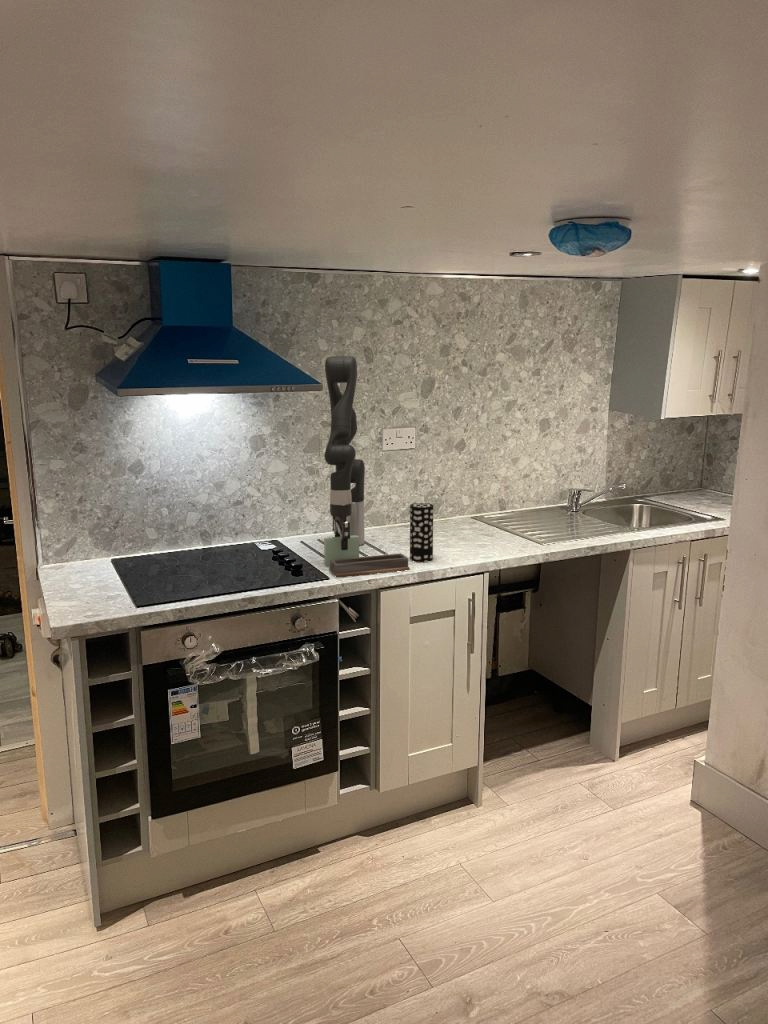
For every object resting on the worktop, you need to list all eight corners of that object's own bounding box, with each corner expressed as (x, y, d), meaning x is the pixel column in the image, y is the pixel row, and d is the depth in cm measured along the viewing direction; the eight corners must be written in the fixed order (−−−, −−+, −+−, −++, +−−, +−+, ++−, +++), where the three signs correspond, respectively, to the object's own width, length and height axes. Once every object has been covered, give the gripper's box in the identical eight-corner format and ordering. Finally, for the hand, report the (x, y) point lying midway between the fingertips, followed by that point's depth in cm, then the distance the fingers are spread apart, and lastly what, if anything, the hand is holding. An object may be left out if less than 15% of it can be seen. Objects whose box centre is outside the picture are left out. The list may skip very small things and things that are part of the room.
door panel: (324, 565, 275) (324, 538, 273) (357, 562, 279) (356, 535, 277) (326, 567, 273) (325, 539, 271) (359, 564, 277) (358, 536, 275)
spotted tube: (406, 557, 285) (406, 504, 280) (427, 555, 288) (427, 502, 283) (415, 563, 277) (415, 508, 273) (436, 561, 280) (437, 506, 276)
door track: (329, 569, 269) (328, 558, 269) (399, 563, 278) (399, 552, 277) (336, 578, 260) (336, 566, 259) (409, 570, 268) (409, 559, 268)
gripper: (325, 499, 277) (325, 543, 280) (335, 506, 263) (336, 552, 266) (345, 497, 279) (345, 542, 282) (356, 504, 266) (357, 551, 269)
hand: (341, 547), depth 274 cm, fingers open, 8 cm apart
